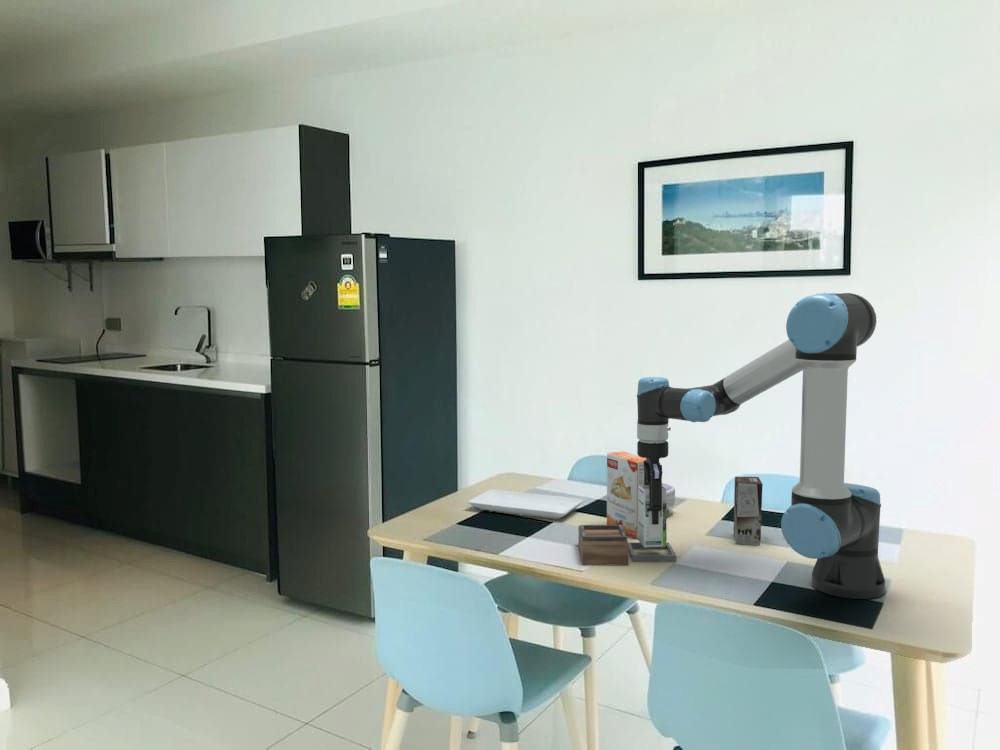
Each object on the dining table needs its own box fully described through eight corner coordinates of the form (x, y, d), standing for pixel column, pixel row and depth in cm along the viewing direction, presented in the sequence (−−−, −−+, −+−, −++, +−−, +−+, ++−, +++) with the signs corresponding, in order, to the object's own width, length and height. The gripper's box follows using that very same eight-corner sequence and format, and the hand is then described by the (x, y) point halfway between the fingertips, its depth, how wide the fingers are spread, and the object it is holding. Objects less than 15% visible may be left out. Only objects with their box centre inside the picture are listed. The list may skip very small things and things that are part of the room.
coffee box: (761, 545, 215) (763, 484, 214) (735, 544, 216) (737, 483, 215) (757, 535, 224) (759, 476, 222) (732, 534, 225) (734, 475, 224)
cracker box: (605, 526, 233) (605, 452, 231) (623, 523, 236) (623, 450, 234) (635, 539, 221) (636, 461, 218) (653, 536, 223) (655, 459, 221)
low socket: (676, 561, 203) (676, 555, 203) (632, 561, 203) (632, 555, 203) (668, 548, 213) (668, 542, 213) (627, 548, 214) (627, 542, 213)
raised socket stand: (628, 565, 200) (628, 540, 200) (582, 564, 201) (582, 540, 200) (621, 544, 216) (621, 522, 216) (578, 544, 217) (578, 521, 216)
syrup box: (643, 548, 205) (643, 489, 203) (638, 541, 210) (638, 484, 209) (666, 547, 205) (667, 489, 203) (660, 540, 211) (660, 483, 209)
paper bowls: (612, 509, 251) (612, 483, 250) (655, 504, 257) (656, 479, 256) (640, 522, 237) (640, 495, 236) (685, 516, 243) (685, 489, 242)
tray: (564, 524, 236) (564, 512, 236) (465, 512, 250) (465, 500, 250) (584, 510, 251) (584, 499, 251) (491, 499, 265) (491, 488, 265)
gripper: (675, 447, 196) (674, 543, 198) (661, 433, 215) (661, 522, 217) (642, 447, 196) (642, 544, 198) (632, 434, 215) (632, 522, 217)
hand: (652, 532), depth 207 cm, fingers closed on syrup box, 6 cm apart
